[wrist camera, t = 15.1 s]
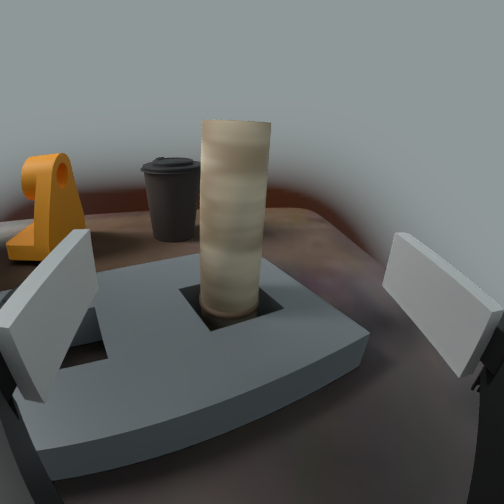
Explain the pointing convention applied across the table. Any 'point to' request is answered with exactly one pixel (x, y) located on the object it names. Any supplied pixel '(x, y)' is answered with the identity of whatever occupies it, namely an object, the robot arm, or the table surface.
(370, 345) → the table surface
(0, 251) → the table surface
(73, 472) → the stool seat
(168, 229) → the coffee cup
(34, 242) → the bracket
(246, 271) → the maple leg
